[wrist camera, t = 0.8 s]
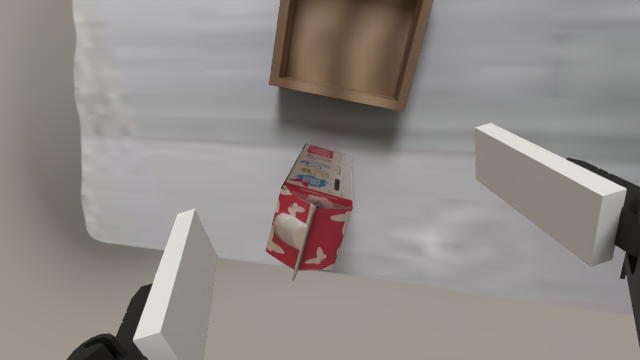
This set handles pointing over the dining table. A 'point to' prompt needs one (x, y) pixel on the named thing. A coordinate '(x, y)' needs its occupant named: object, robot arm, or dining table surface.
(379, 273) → the dining table surface
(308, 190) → the juice carton
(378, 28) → the walled box
